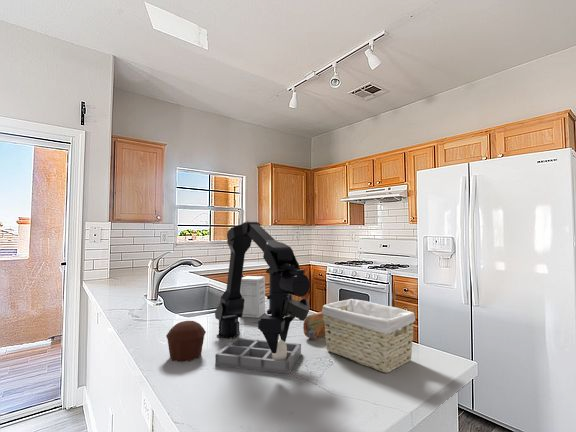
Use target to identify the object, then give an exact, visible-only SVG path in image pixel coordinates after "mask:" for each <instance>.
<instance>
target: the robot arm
mask: <svg viewBox="0 0 576 432" xmlns="http://www.w3.org/2000/svg"><path fill="white" fill-rule="evenodd" d="M226 239H227V247H229V250H230V258H229V267H228V273H227V281H226V290H225V291H224V293H222V295H221V297H220V301H219V304H218V306H217V307H216V309H215V311H214V316H215V317H214V318H215V319H216V320H218V334H216V337H217V338H225V339H234V338H235V337H237V336H238V335H239V334H241V331H240V321H239V319H240V318H243V317H242V314H243V309H244V301H245V300H244V298H243V297H242V295H241V293H240V288H241V281H242V278H243V272H244V264H245V255H246V253H247V251H248V250H249V249H250V248H251V245H252V243H253V242H254V243H255V244H256V246H257V247H259V249H260V250H261V251H262V253H263V256H262V257H263V260H264V261H265V263H266V264H267V266H268V268H267V269H266V271H265V273H266V274H269V278H268V280H269V282H268V284H269V288H268V289H269V290H268V292H269V294H267V295H266V299H267V300H268V304H269V305H268V306H269V307H268V309H267V310H266V314H264V315H263V316H261V317H260V319H259V320H258V321H257V323H258V324H257V329H258V330H259V331H260V332H261V333H262V335H263V337H264V338H265V341H267V343H268V345H269V347H270V349H271V352H272V353H276V352H277V347H278V340H283V341H284V342H287V337H288V334H289V333H288V332H289V329H290V324H291V322H292V321H293V320H294V319H295V318H297V319H298V320H300V321H301V322H304V321H305V319H306V318H307V316H309V312H310V310H311V306H310V305H309V300H308V299H307V298H304V296H306V295H307V294H308V292H309V291H310V289H311V288H310V287H311V282H310V279H309V278H308V276H307V275H305V270H304V269H301V267H300V264H299V262H298V261H297V258H296V255H295V253H294V251H293V249H292V247H291V246H289V245H288V244H286V243H284V242H281V241H277V240H276V239H275V238H273V237H272V236H271V235H270V234H269V233H268V231H266V230H265V229H264V228H263V227H262V226H261V223H260V222H259V221H248V220H247V221H245V222H242V223H241V224H238V225H236V226H233V227H230V228H229V229H228V231H227V233H226ZM293 296H296V297H300V298H301V299H300V300H299V299H296V300H295V299H293ZM302 297H303V298H302ZM279 338H280V339H279Z"/></svg>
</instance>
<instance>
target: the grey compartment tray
mask: <svg viewBox="0 0 576 432" xmlns="http://www.w3.org/2000/svg"><path fill="white" fill-rule="evenodd" d="M285 343H286V345H287V360H286V361H284V360H275V359H272V352H271V349H270V347H269V345H268V343H267V341H266V339H265V340H263V339H256V338H255V339H254V338H243V337H236V338H235V339H233V340H232V341H231V342H229V343H228V344H226V345H225V346H224V347H223V348H222V349H220V350H219V351H218V352H216V353H215V356H214V357H215V363H214V364H215V366H219V367H227V368H237V369H242V370H243V369H245V370H252V371H254V370H255V371H259V372H267V373H276V374H283V375H285V374H286V375H289V374H290V373H291V371H292V369H293V368H294V366H295V364H296V363H297V361H298V360H299V357H301V355H302V344H301V343H296V342H295V343H293V342H287V341H285Z"/></svg>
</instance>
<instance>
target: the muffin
mask: <svg viewBox="0 0 576 432" xmlns="http://www.w3.org/2000/svg"><path fill="white" fill-rule="evenodd" d="M206 332H207V331H206V330H205V328H204V327H203V326H202V325H201V324H200V323H199V322H197V321H194V320H184V321H180V322H178V323H175V324H174V325H173V326H172V327H171V328H170V329H169V331H168V332H167V334H166V339H167V344H168V345H167V346H168V352H169V353H168V354H169V358H170V359H171V360H172V362H178V363H183V362H191V361H194V360H196V359H199V358H200V356H201V355H202V351H203V345H204V340H205V335H206Z"/></svg>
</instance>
